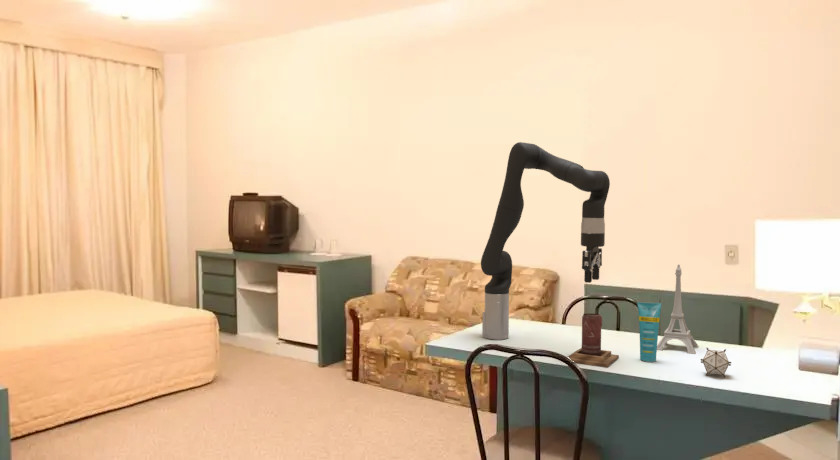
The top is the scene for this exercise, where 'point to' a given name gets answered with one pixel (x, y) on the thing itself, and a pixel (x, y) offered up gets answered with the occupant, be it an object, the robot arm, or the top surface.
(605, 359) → the coaster plate
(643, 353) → the tube
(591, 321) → the can
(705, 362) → the game die
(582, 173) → the robot arm
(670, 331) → the eiffel tower
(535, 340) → the top surface
